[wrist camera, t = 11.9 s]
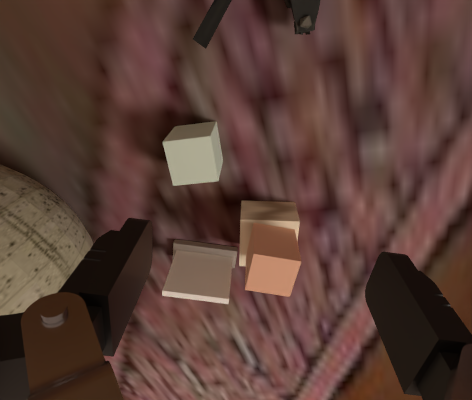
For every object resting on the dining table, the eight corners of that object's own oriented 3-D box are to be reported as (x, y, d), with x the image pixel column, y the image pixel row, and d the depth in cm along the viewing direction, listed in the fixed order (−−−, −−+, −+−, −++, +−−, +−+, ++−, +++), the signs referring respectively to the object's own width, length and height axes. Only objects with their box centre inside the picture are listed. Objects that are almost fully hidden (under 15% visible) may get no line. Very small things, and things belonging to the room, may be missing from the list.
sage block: (216, 121, 37) (210, 136, 32) (223, 160, 40) (218, 181, 34) (175, 126, 38) (162, 141, 33) (183, 165, 40) (173, 185, 35)
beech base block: (294, 201, 42) (299, 221, 38) (290, 244, 45) (294, 268, 41) (241, 199, 42) (240, 219, 38) (240, 243, 46) (239, 265, 41)
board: (237, 247, 46) (234, 292, 38) (234, 263, 47) (231, 310, 39) (174, 239, 46) (158, 283, 38) (174, 255, 47) (158, 301, 39)
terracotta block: (294, 229, 38) (301, 261, 33) (284, 262, 41) (289, 296, 35) (253, 222, 38) (253, 253, 33) (246, 255, 40) (245, 289, 35)
